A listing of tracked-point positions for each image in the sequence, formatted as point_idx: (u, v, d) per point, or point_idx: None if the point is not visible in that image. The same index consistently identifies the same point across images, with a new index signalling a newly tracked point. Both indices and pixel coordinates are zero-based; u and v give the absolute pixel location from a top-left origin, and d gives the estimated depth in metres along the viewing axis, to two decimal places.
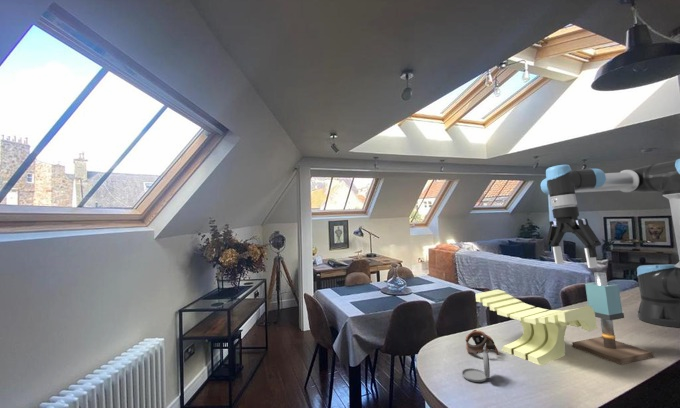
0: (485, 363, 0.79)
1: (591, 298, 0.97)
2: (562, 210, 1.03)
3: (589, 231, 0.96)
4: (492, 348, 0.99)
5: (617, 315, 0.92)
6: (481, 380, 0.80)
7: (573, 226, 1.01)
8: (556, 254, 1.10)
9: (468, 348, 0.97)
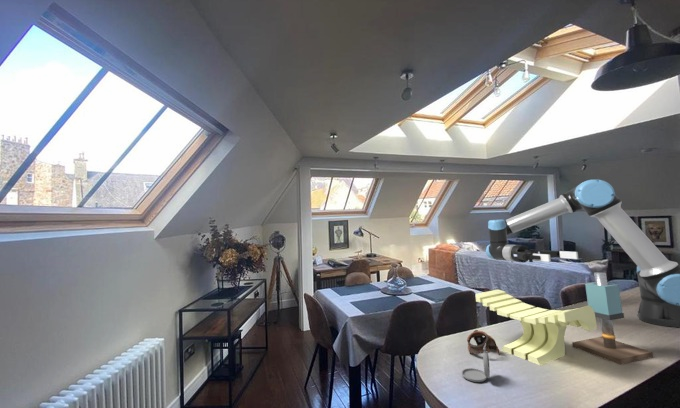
0: (485, 363, 0.79)
1: (591, 298, 0.97)
2: (515, 260, 1.27)
3: (519, 256, 1.18)
4: (493, 348, 0.99)
5: (617, 315, 0.92)
6: (480, 380, 0.80)
7: None
8: (567, 257, 1.13)
9: (470, 348, 0.97)
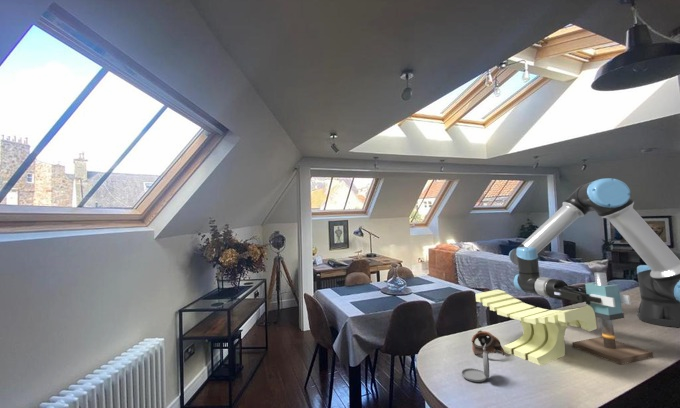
0: (485, 363, 0.79)
1: None
2: None
3: (567, 295, 1.01)
4: (498, 349, 0.99)
5: (617, 315, 0.92)
6: (480, 380, 0.80)
7: None
8: None
9: (474, 349, 0.96)
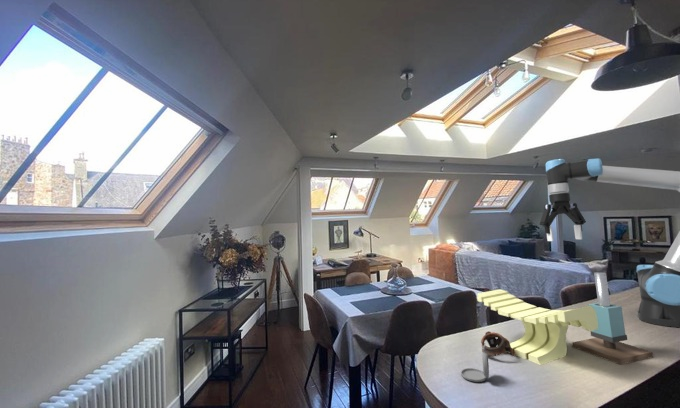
0: (485, 363, 0.79)
1: None
2: None
3: (544, 214, 1.29)
4: (507, 350, 0.97)
5: (620, 337, 0.92)
6: (480, 380, 0.80)
7: (552, 209, 1.30)
8: (575, 231, 1.30)
9: (485, 351, 0.95)
